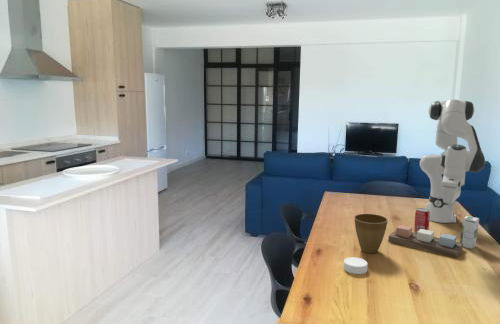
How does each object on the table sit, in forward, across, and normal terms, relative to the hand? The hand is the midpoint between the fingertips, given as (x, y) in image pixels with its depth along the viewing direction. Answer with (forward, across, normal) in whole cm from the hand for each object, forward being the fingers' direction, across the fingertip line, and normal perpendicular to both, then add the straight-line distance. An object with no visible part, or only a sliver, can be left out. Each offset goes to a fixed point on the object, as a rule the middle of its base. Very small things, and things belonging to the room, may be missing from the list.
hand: (450, 209), depth 177 cm
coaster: (+21, +46, -26) cm, 57 cm away
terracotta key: (+18, 0, -20) cm, 27 cm away
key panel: (+20, 0, -10) cm, 23 cm away
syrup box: (+21, -13, +7) cm, 25 cm away
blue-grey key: (+18, 0, 0) cm, 18 cm away
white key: (+18, 0, -10) cm, 20 cm away
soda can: (+21, -18, -16) cm, 32 cm away
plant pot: (+21, +23, -29) cm, 43 cm away
